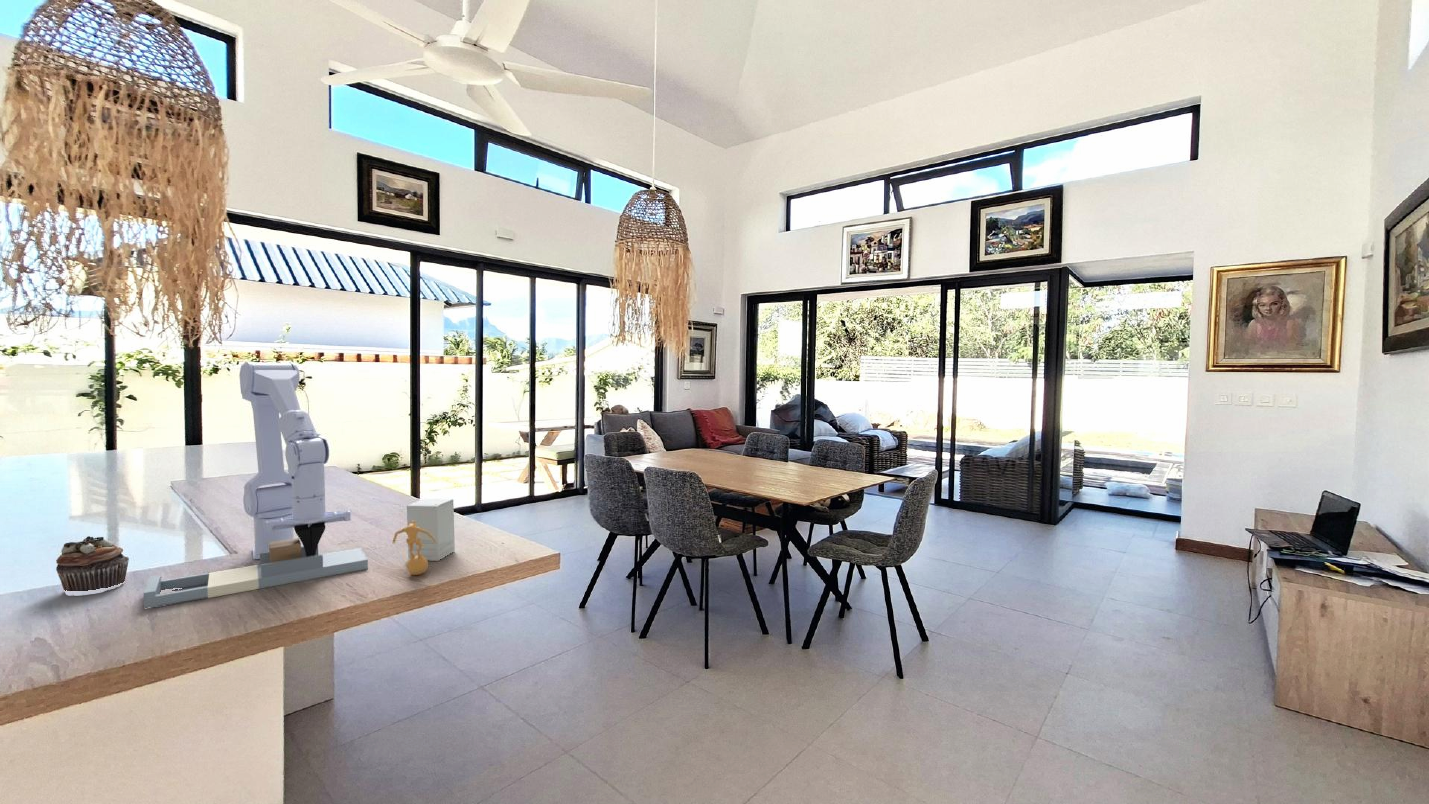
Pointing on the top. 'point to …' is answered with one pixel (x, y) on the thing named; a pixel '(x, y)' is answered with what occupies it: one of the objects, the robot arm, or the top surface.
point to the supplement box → (433, 527)
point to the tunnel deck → (252, 576)
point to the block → (284, 550)
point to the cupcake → (91, 565)
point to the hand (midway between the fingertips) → (310, 559)
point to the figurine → (418, 562)
